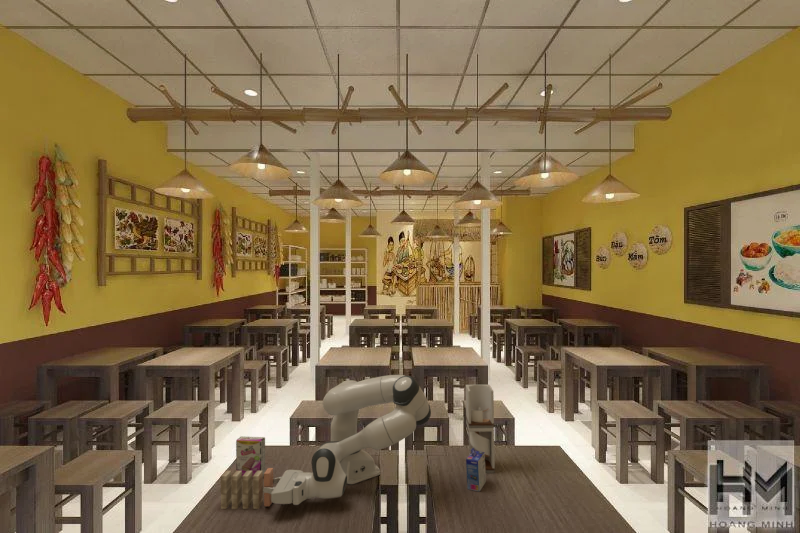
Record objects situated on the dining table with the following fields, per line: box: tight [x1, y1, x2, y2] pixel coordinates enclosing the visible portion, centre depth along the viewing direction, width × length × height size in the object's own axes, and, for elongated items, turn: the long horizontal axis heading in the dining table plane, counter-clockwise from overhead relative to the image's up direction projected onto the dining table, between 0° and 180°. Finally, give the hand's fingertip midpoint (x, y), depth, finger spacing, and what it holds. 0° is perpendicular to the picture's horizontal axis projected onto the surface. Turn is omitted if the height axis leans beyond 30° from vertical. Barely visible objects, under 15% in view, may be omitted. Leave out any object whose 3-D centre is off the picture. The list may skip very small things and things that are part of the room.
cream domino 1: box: [220, 470, 232, 510], centre depth 179 cm, size 2×5×12 cm, turn 178°
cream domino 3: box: [242, 471, 253, 510], centre depth 178 cm, size 2×5×12 cm, turn 178°
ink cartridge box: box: [465, 448, 487, 492], centre depth 192 cm, size 10×6×14 cm, turn 155°
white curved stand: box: [465, 384, 496, 474], centre depth 209 cm, size 11×11×35 cm
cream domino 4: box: [252, 471, 264, 510], centre depth 178 cm, size 2×5×12 cm, turn 178°
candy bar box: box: [235, 435, 266, 480], centre depth 203 cm, size 11×5×16 cm, turn 84°
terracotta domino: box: [263, 467, 274, 507], centre depth 178 cm, size 2×5×12 cm, turn 178°
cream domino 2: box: [231, 470, 243, 510], centre depth 179 cm, size 2×5×12 cm, turn 178°
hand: (266, 485), depth 178 cm, fingers closed on terracotta domino, 5 cm apart
